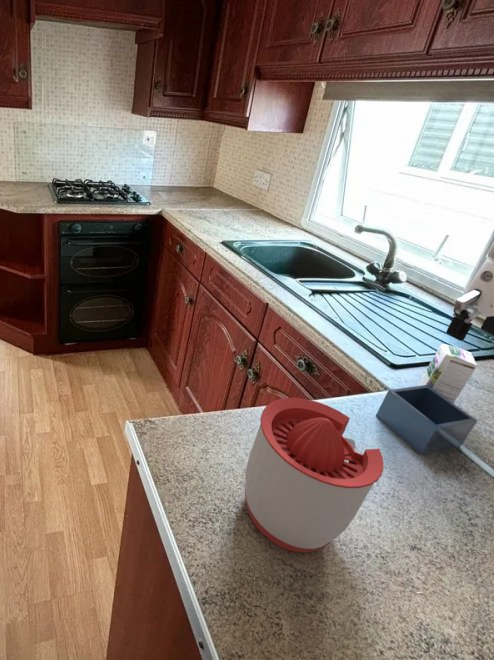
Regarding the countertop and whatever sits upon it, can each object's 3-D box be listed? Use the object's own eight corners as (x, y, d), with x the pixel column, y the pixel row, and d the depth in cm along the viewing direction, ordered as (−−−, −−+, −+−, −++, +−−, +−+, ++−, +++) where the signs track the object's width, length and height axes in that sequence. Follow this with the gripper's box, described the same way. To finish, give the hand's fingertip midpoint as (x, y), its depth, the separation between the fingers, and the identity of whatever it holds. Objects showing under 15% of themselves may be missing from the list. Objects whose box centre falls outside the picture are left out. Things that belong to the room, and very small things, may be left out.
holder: (412, 409, 89) (426, 384, 86) (460, 447, 80) (478, 420, 77) (375, 415, 86) (388, 389, 83) (420, 455, 77) (437, 428, 74)
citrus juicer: (373, 558, 58) (436, 461, 49) (265, 577, 54) (312, 475, 45) (307, 467, 71) (347, 378, 63) (217, 477, 68) (246, 384, 59)
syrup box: (411, 393, 94) (439, 342, 87) (441, 404, 91) (472, 351, 85) (413, 408, 89) (444, 354, 83) (445, 419, 87) (479, 365, 80)
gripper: (504, 265, 68) (459, 349, 76) (571, 262, 73) (521, 341, 81) (460, 250, 75) (422, 328, 83) (524, 247, 80) (483, 322, 87)
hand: (471, 334), depth 82 cm, fingers open, 9 cm apart
